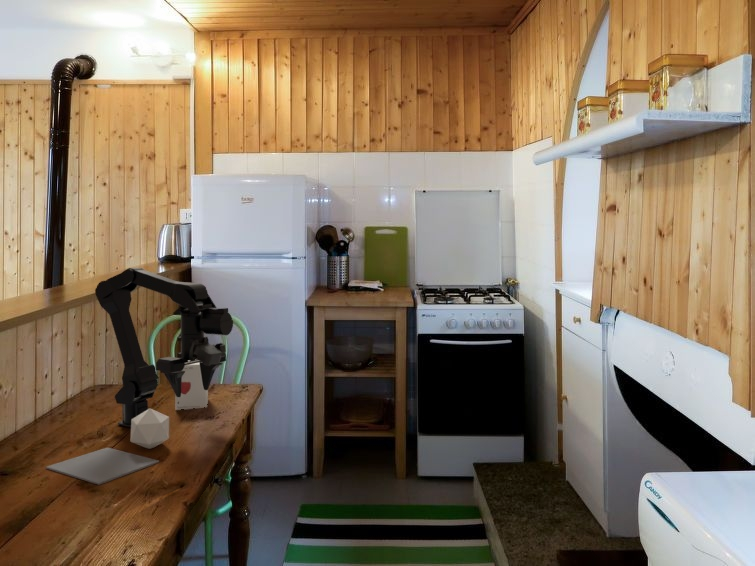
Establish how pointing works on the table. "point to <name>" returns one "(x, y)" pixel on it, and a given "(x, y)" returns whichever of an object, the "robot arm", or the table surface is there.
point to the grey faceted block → (149, 429)
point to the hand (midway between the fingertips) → (192, 393)
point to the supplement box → (192, 389)
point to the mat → (102, 465)
